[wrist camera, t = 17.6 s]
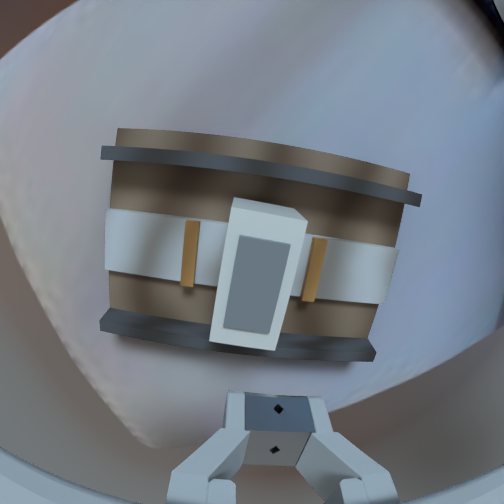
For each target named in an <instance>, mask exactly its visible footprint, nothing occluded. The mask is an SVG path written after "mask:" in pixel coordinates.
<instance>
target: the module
mask: <svg viewBox="0 0 504 504" xmlns="http://www.w3.org/2000/svg"><path fill="white" fill-rule="evenodd" d="M307 224H308V221H307V220H306V219H305V218H304V217H303V216H302V215H301V214H300V213H299V212H297V211H296V210H295V209H294V208H289V207H284V206H279V205H274V204H269V203H264V202H258V201H253V200H248V199H242V198H236V197H234V199H233V203H232V206H231V212H230V217H229V223H228V228H227V234H226V240H225V246H224V251H223V257H222V263H221V269H220V275H219V281H218V287H217V293H216V300H215V306H214V312H213V319H212V325H211V331H210V338H209V341H211V342H217V343H223V344H230V345H236V346H243V347H250V348H257V349H265V350H273V351H275V349H276V345H277V342H278V338H279V334H280V331H281V327H282V323H283V320H284V316H285V312H286V309H287V305H288V301H289V297H290V293H291V289H292V285H293V281H294V278H295V274H296V270H297V266H298V261H299V257H300V253H301V249H302V245H303V241H304V236H305V232H306V228H307Z"/></svg>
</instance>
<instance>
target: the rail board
mask: <svg viewBox="0 0 504 504" xmlns="http://www.w3.org/2000/svg"><path fill="white" fill-rule="evenodd" d="M101 159H102V160H114V162H113V173H112V184H111V199H110V208H109V209H107V210H106V221H105V269H106V270H109V295H110V308H109V310H108V311H107V312H106V313H105V314H104V316H103V317H102V318H101V319H100V331H105V332H109V333H114V334H118V335H123V336H128V337H133V338H138V339H143V340H148V341H154V342H159V343H165V344H171V345H177V346H183V347H190V348H197V349H204V350H211V351H218V352H227V353H235V354H244V355H254V356H264V357H276V358H289V359H304V360H324V361H362V362H373V360H374V358H375V355H376V351H375V349H374V348H373V346H372V345H371V343H370V342H369V340H368V339H367V338H368V335H369V332H370V329H371V326H372V323H373V320H374V317H375V314H376V311H377V308H378V305H379V304H384V300H385V297H386V294H387V291H388V287H389V284H390V281H391V277H392V274H393V270H394V266H395V263H396V259H397V255H398V251H399V250H397V249H396V248H395V244H396V240H397V236H398V231H399V227H400V223H401V218H402V213H403V208H404V204H409V205H413V206H417V207H420V203H421V198H422V194H418V193H414V192H411V191H407V188H408V182H409V176H410V174H409V173H405V172H402V171H398V170H395V169H391V168H388V167H384V166H380V165H376V164H372V163H368V162H364V161H360V160H356V159H352V158H348V157H343V156H339V155H334V154H330V153H325V152H320V151H315V150H310V149H305V148H300V147H294V146H289V145H283V144H277V143H271V142H265V141H258V140H251V139H244V138H237V137H229V136H220V135H211V134H202V133H191V132H180V131H166V130H149V129H125V128H118V130H117V137H116V145H115V146H102V150H101ZM234 197H236V198H242V199H248V200H253V201H258V202H264V203H269V204H274V205H279V206H284V207H289V208H294V209H295V210H296V211H297V212H299V213H300V214H301V215H302V216H303V217H304V218H305V219H306V220H307V221H308V224H307V228H306V232H305V236H304V241H303V245H302V249H301V253H300V257H299V261H298V266H297V270H296V274H295V278H294V281H293V285H292V289H291V293H290V297H289V301H288V305H287V309H286V312H285V316H284V320H283V323H282V327H281V331H280V334H279V338H278V342H277V345H276V349H275V351H273V350H265V349H257V348H250V347H243V346H236V345H230V344H223V343H217V342H211V341H209V338H210V331H211V325H212V319H213V312H214V306H215V300H216V293H217V287H218V281H219V275H220V269H221V263H222V257H223V251H224V246H225V240H226V234H227V228H228V223H229V217H230V212H231V206H232V203H233V199H234Z"/></svg>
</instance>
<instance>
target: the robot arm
mask: <svg viewBox="0 0 504 504" xmlns="http://www.w3.org/2000/svg"><path fill="white" fill-rule="evenodd" d="M494 3H495V5H496V8H497V10H498V12H499V14H500V16H501V18H502V20H503V22H504V0H494ZM242 465H274V466H296V467H295V468H296V469H297V470H298V471H299V472H300V474H301V475H302V476H303V477H304V478H305V480H306V481H307V482H308V483H309V484H310V485H311V486H312V488H313V489H314V490H315V491H316V492H317V493H318V494H319V496H320V497H321V498H322V499H323V500H324V501H325V503H324V504H504V464H502V465H500V466H498V467H496V468H494V469H492V470H490V471H488V472H486V473H483V474H481V475H479V476H477V477H474V478H472V479H470V480H467V481H465V482H462V483H460V484H457V485H455V486H452V487H449V488H446V489H444V490H441V491H438V492H435V493H432V494H429V495H425V496H422V497H419V498H415V499H412V500H408V501H404V502H400V500H399V497H398V494H397V492H396V489H395V486H394V484H393V481H392V479H391V476H390V473H389V472H388V471H387V470H386V469H384V468H383V467H382V466H380V465H379V464H378V463H376V462H375V461H374V460H372V459H371V458H370V457H368V456H367V455H366V454H365V453H363V452H362V451H361V450H359V449H358V448H357V447H355V446H354V445H353V444H352V443H350V442H349V441H348V440H347V439H345V438H344V437H343V436H342V435H341V434H339V433H338V432H333V429H332V426H331V423H330V419H329V416H328V412H327V409H326V406H325V402H324V399H323V398H322V397H321V396H306V397H305V396H284V395H268V394H258V393H249V392H238V391H231V390H228V392H227V398H226V405H225V411H224V419H223V427H222V428H220V429H219V430H218V431H217V432H215V433H214V434H213V435H212V436H211V437H210V438H209V439H208V440H207V441H206V442H205V443H204V444H202V445H201V446H200V447H199V448H198V449H197V450H196V451H195V452H193V453H192V454H191V455H190V456H189V457H188V458H187V459H186V460H184V461H183V462H182V463H181V464H180V465H179V466H177V467H176V468H175V469H174V470H173V471H172V473H171V478H170V483H169V488H168V493H167V498H166V504H236V484H234V483H233V482H232V481H231V478H232V477H233V476H234V475H235V474H236V472H237V471H238V470H239V469H240V467H241V466H242ZM0 504H141V503H137V502H133V501H129V500H126V499H122V498H119V497H115V496H112V495H109V494H105V493H102V492H99V491H96V490H93V489H90V488H87V487H85V486H82V485H79V484H77V483H74V482H71V481H69V480H66V479H64V478H62V477H59V476H57V475H55V474H53V473H50V472H48V471H46V470H44V469H41V468H39V467H37V466H35V465H33V464H31V463H29V462H27V461H25V460H23V459H21V458H20V457H18V456H16V455H14V454H12V453H10V452H9V451H7V450H5V449H4V448H2V447H0Z"/></svg>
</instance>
